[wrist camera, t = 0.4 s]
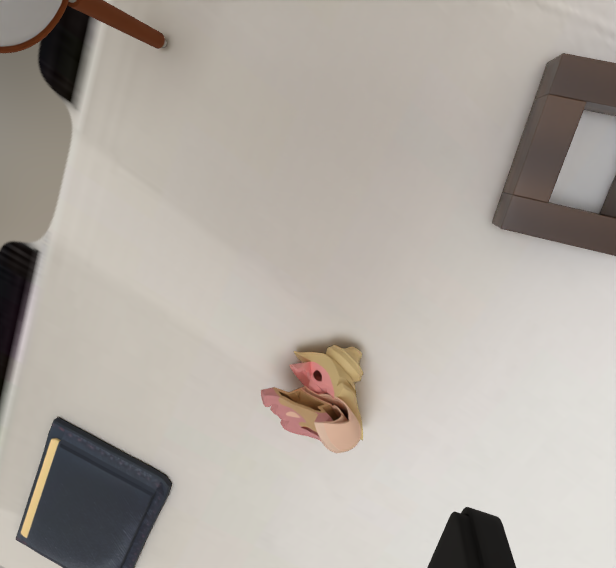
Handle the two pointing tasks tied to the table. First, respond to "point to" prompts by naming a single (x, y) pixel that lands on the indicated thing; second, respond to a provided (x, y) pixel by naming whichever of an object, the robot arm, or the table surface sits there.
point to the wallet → (90, 502)
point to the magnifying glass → (47, 12)
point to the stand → (559, 157)
